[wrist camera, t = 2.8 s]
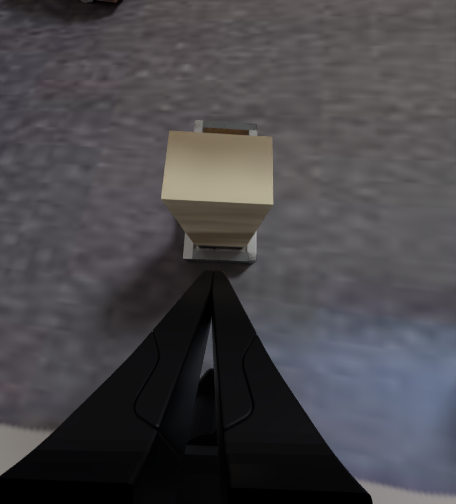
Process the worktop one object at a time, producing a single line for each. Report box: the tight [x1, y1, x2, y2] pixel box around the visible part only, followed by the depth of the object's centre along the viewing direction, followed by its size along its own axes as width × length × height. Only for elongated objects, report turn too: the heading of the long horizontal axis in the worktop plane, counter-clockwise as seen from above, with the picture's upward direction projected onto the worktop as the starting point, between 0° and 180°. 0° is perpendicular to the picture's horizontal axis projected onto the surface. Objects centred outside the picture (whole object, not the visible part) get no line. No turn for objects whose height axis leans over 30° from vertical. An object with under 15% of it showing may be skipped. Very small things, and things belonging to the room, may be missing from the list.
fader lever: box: [161, 131, 273, 249], centre depth 14 cm, size 4×6×11 cm
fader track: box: [183, 120, 257, 264], centre depth 21 cm, size 18×8×2 cm, turn 178°
